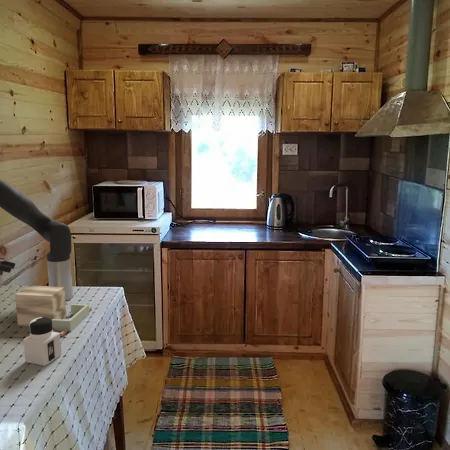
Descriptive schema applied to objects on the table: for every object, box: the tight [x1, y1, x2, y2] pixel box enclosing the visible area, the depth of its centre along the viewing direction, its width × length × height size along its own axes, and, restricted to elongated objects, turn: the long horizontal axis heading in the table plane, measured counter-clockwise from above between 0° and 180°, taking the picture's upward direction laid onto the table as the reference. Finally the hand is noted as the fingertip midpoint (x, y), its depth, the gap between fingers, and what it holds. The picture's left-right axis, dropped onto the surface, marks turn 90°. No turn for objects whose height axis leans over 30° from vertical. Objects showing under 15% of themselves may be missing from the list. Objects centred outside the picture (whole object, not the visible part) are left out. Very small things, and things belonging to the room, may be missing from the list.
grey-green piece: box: [52, 303, 93, 338], centre depth 168 cm, size 25×7×4 cm, turn 173°
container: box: [23, 317, 62, 367], centre depth 140 cm, size 8×8×13 cm
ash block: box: [14, 285, 67, 327], centre depth 169 cm, size 10×14×12 cm
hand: (12, 268), depth 166 cm, fingers open, 8 cm apart
